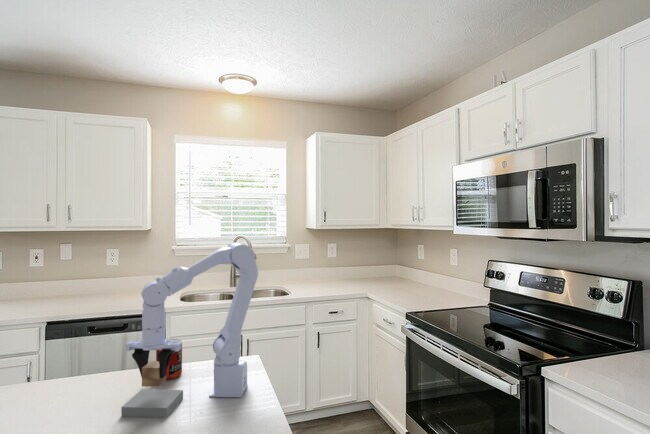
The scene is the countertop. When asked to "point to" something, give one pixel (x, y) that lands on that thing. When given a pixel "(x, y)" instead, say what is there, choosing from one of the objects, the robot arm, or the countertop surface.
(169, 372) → the canned food
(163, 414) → the slate base
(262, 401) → the countertop surface
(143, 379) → the light brown rectangular block
